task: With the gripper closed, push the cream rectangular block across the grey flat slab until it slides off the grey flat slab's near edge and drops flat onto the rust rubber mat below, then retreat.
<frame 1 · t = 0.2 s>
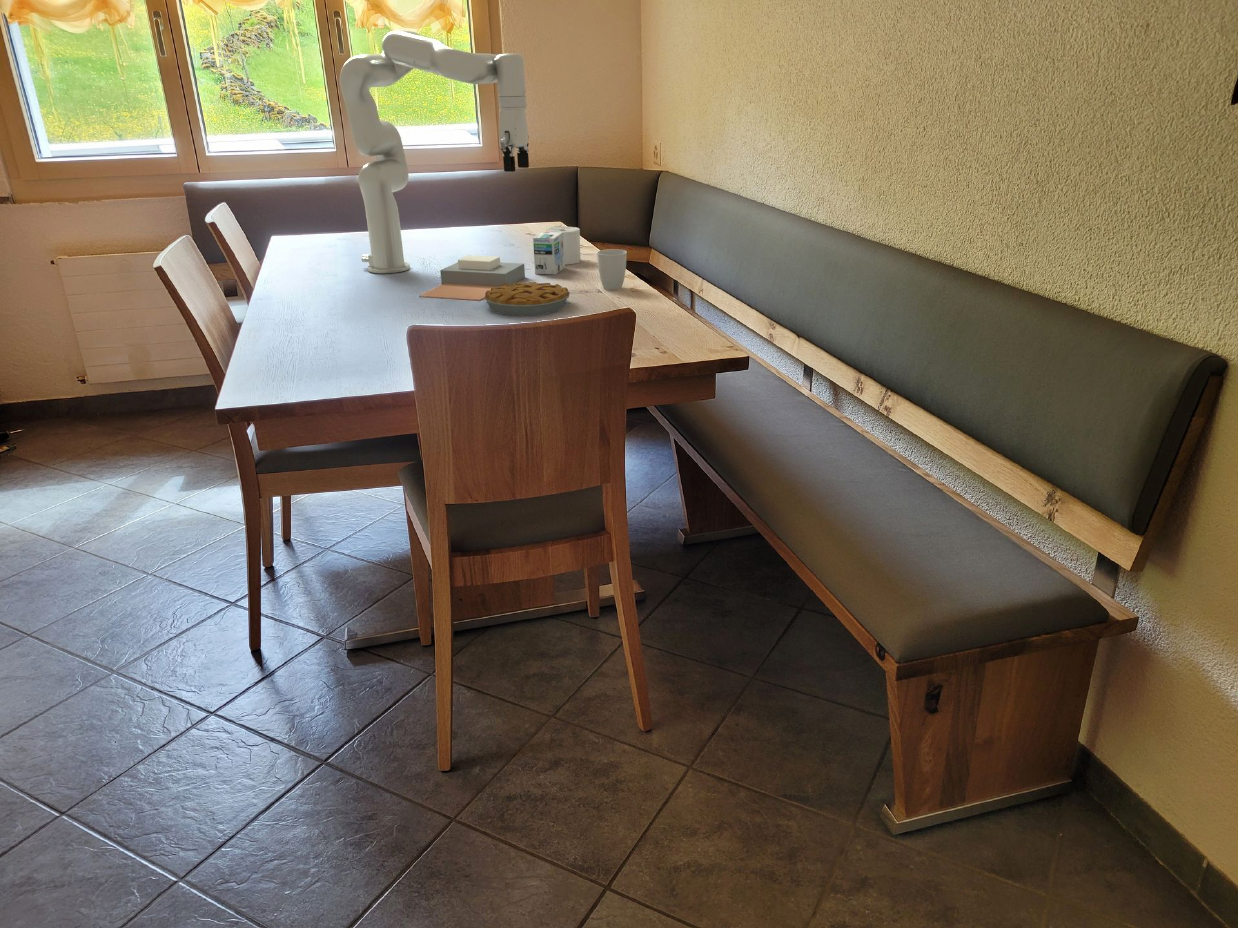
hand: (516, 169, 246), 30 cm above the table, fingers open, 9 cm apart
toilet tissue: (562, 262, 278), on the table
mat: (461, 292, 242), on the table
cup: (612, 289, 244), on the table
cream rectangular block: (479, 262, 253), point 5 cm above the table, touching grey flat slab
pie: (527, 308, 228), on the table
grey flat slab: (483, 280, 255), on the table
light bulb box: (549, 271, 266), on the table
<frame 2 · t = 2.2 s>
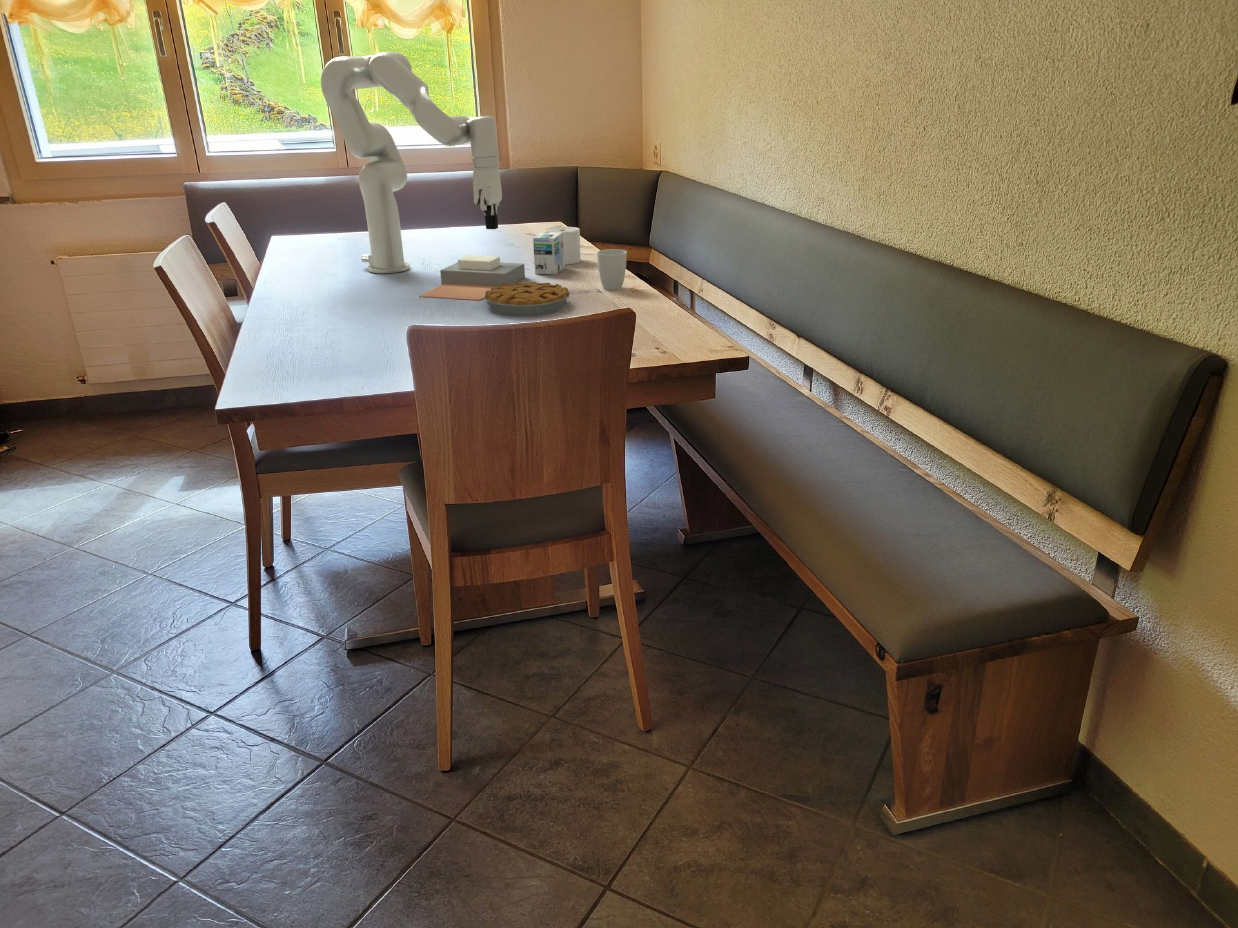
hand: (492, 228, 257), 13 cm above the table, fingers closed
nothing on the table moved.
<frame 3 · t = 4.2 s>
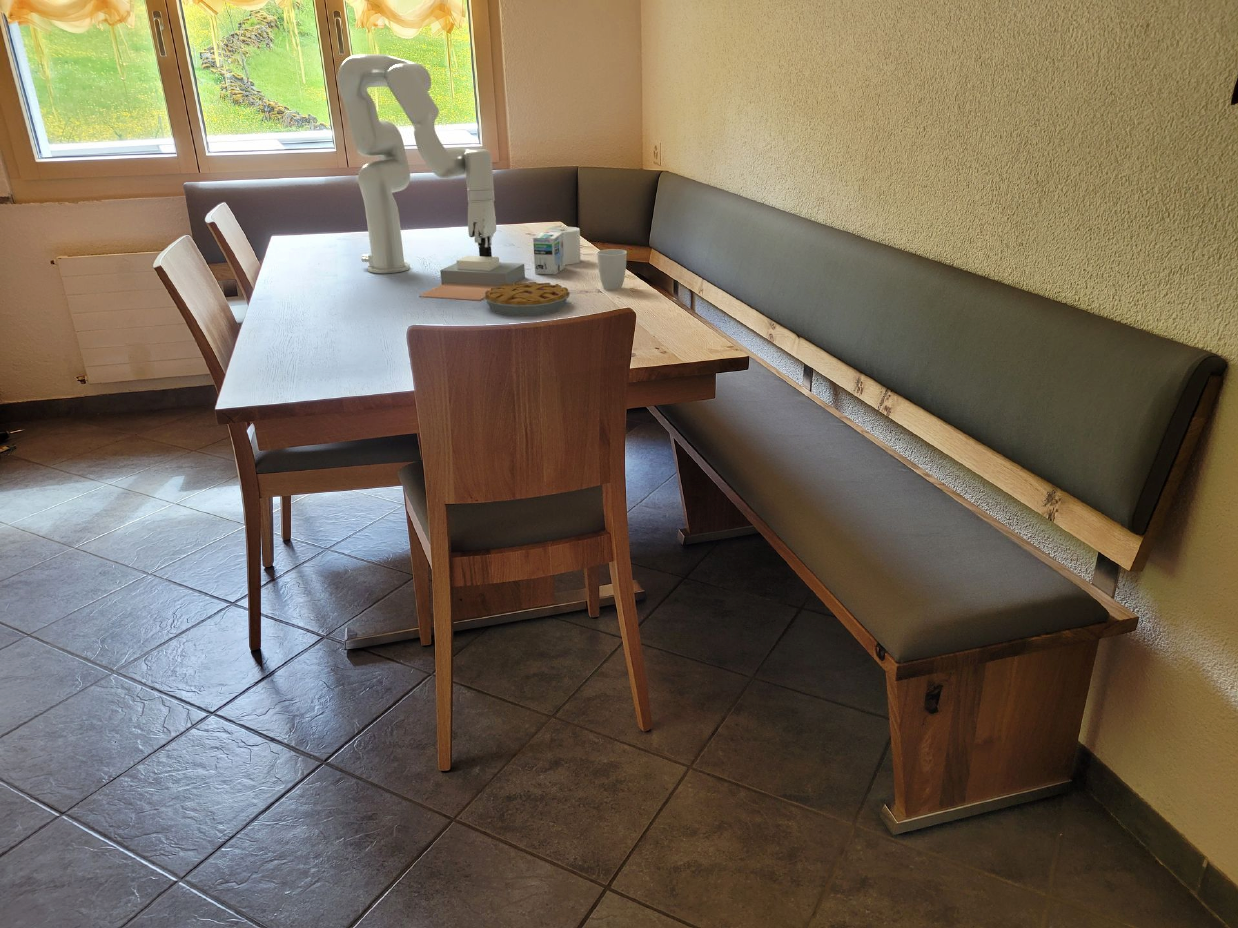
hand: (485, 260, 257), 5 cm above the table, fingers closed
cream rectangular block: (478, 263, 252), point 5 cm above the table, touching grey flat slab, gripper
everything else where it was.
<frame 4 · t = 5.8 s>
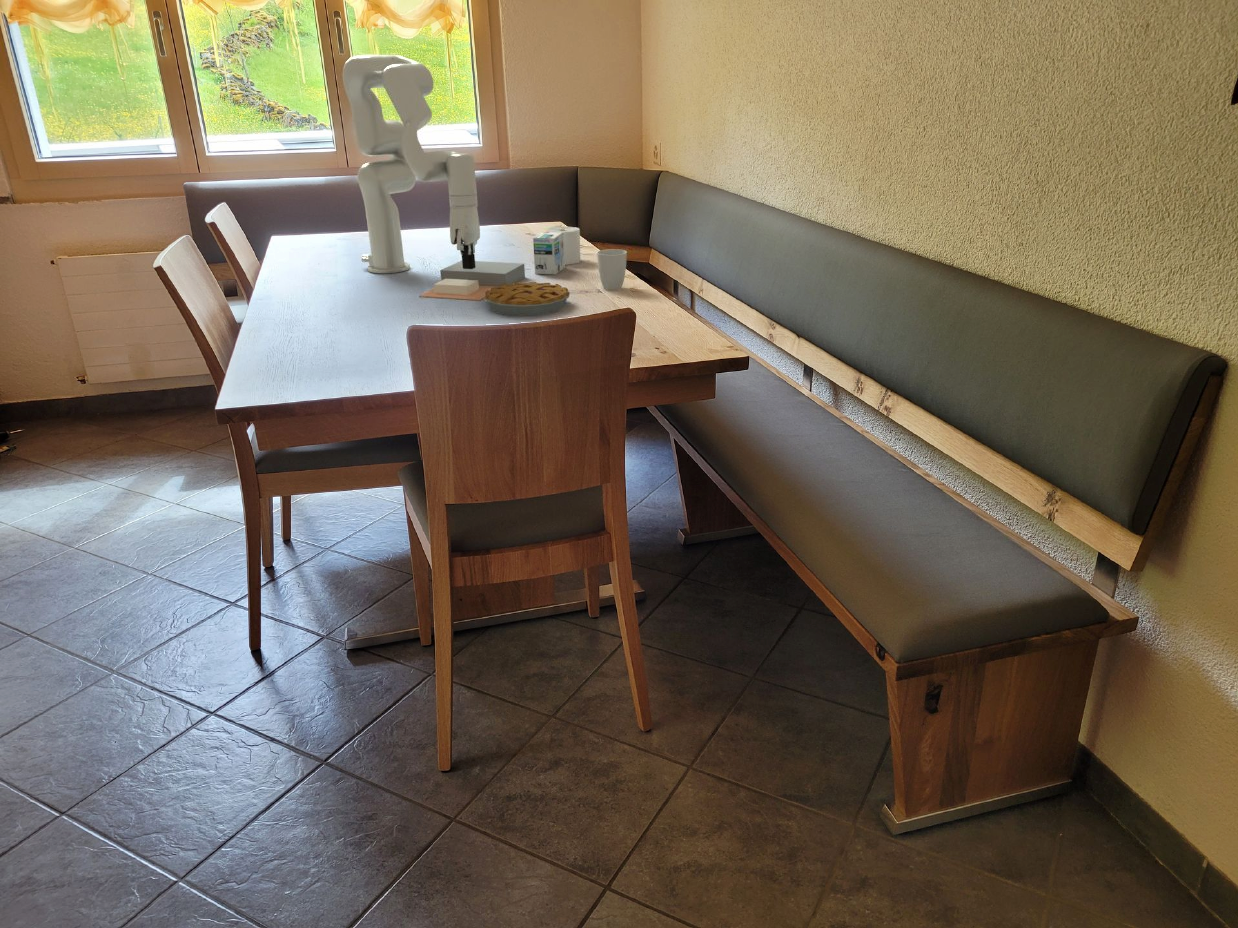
hand: (469, 268, 247), 5 cm above the table, fingers closed
cream rectangular block: (456, 286, 242), point 1 cm above the table, tilted 180°, touching mat
everything else where it was.
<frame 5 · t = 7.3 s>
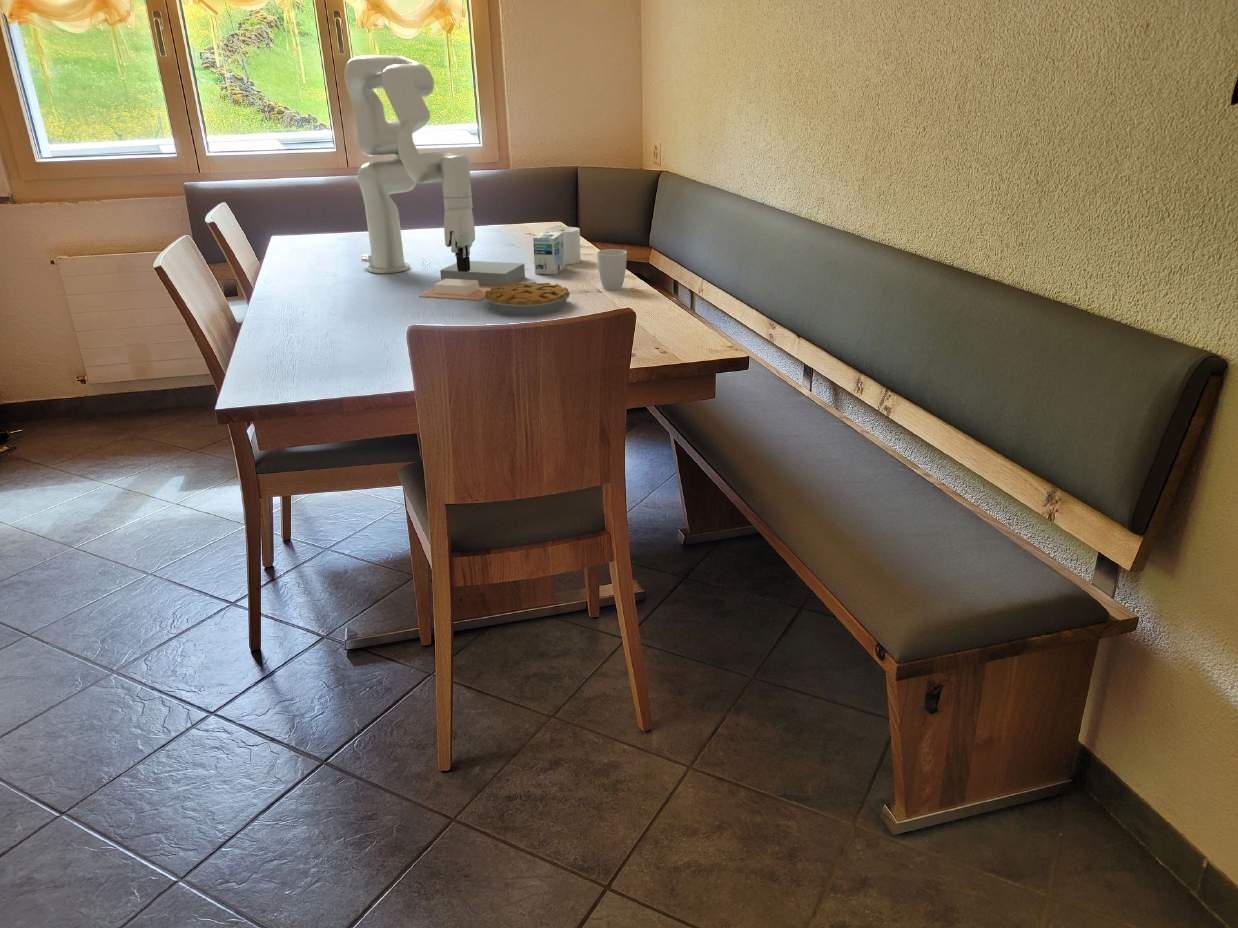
hand: (464, 271, 244), 5 cm above the table, fingers closed
nothing on the table moved.
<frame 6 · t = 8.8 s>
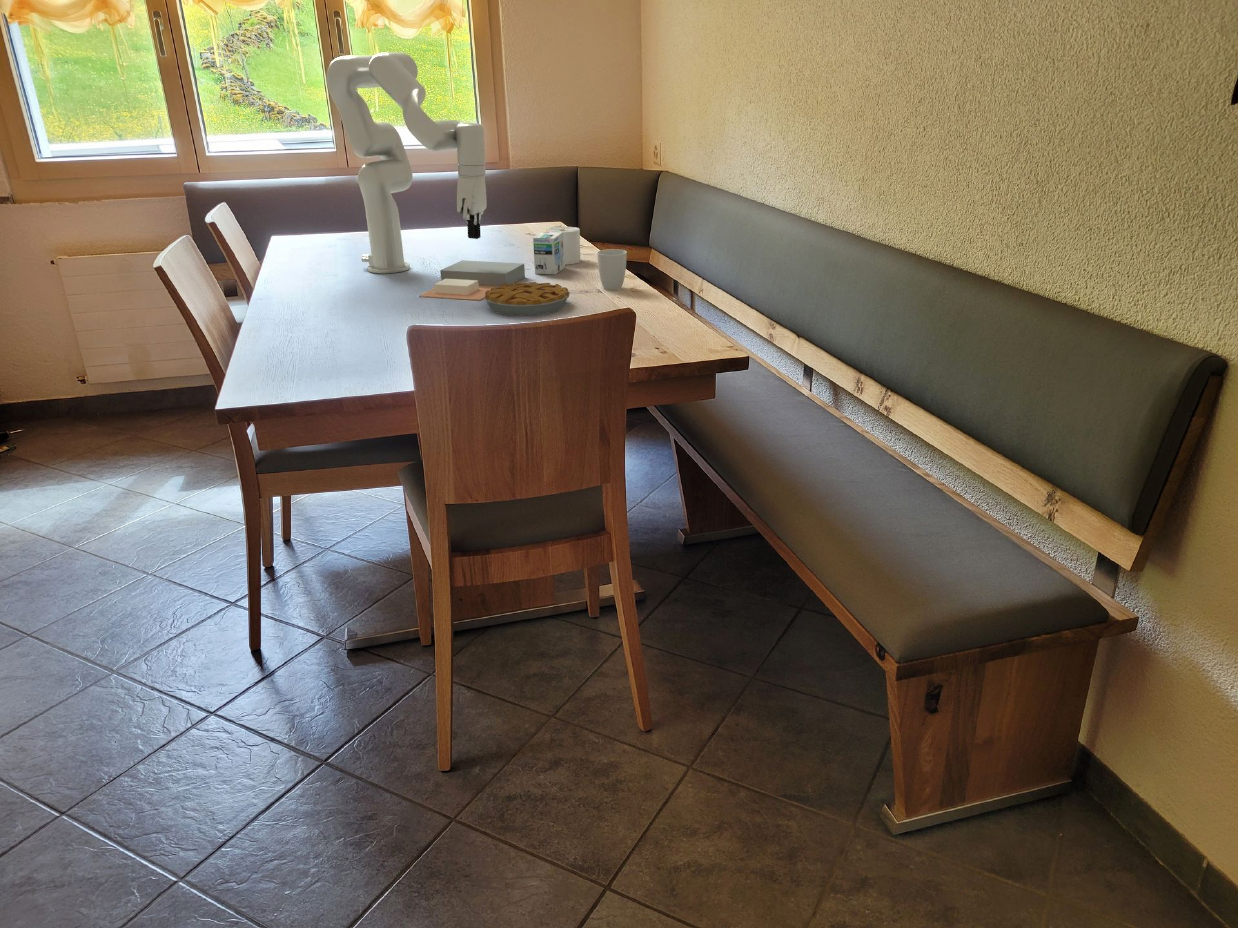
hand: (474, 238, 251), 12 cm above the table, fingers closed
nothing on the table moved.
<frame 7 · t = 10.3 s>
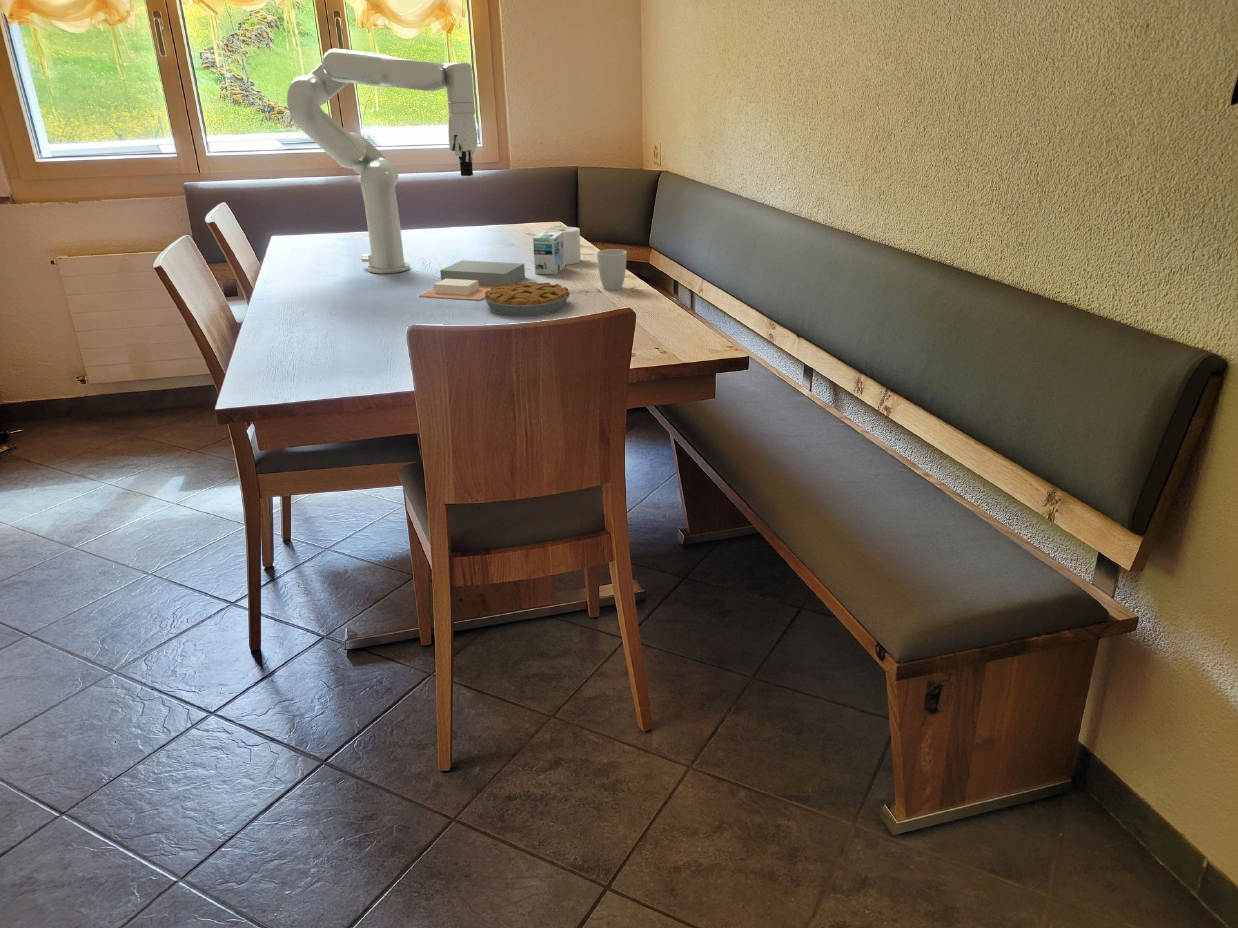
hand: (467, 175, 261), 27 cm above the table, fingers closed
nothing on the table moved.
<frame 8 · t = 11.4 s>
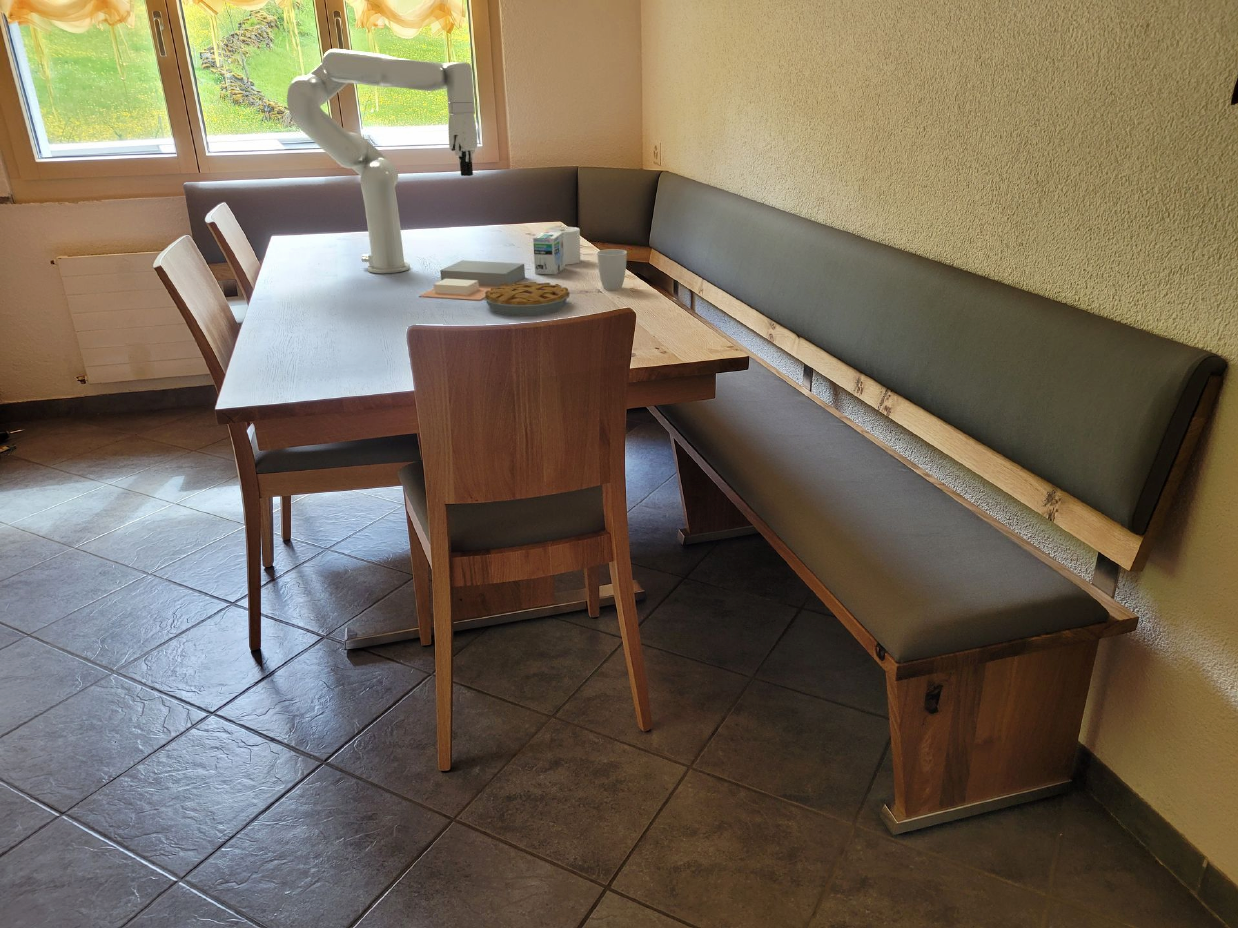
hand: (467, 175, 261), 27 cm above the table, fingers closed
nothing on the table moved.
at the end: cream rectangular block point 1.5 cm above the table; cream rectangular block inside the target area (1.4 cm from its centre), point 1.5 cm above the table; cream rectangular block touching mat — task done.
